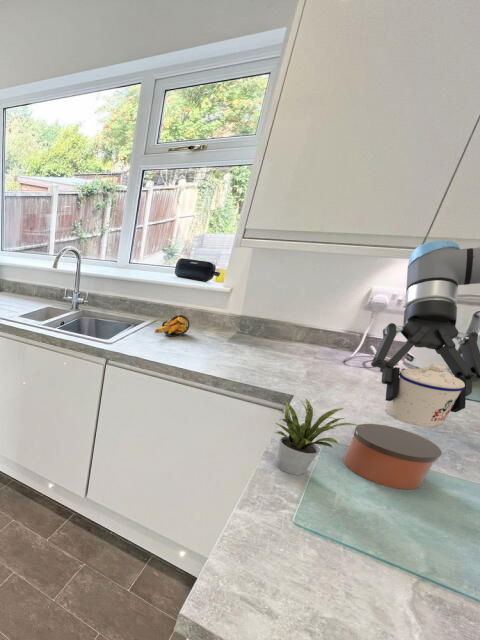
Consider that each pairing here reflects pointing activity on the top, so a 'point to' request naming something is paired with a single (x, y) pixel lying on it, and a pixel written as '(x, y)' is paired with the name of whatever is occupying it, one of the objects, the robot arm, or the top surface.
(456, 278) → the robot arm
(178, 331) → the fried shrimp in bowl
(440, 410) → the teacup with lid
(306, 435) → the house plant
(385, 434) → the storage jar
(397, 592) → the top surface
